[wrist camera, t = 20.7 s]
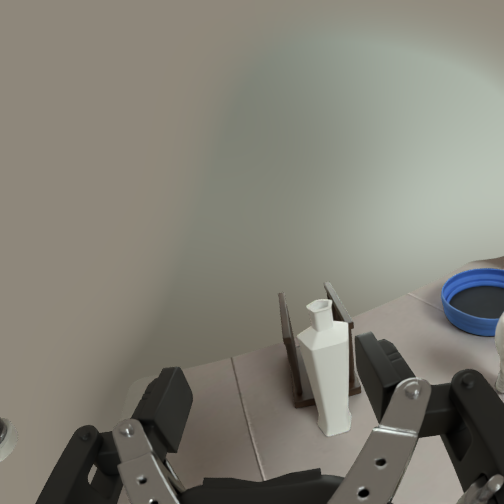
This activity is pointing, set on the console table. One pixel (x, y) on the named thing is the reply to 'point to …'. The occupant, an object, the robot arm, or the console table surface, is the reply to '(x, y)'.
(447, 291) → the bowl
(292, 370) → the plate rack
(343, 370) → the perfume bottle
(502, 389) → the lightbulb
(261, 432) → the console table surface
